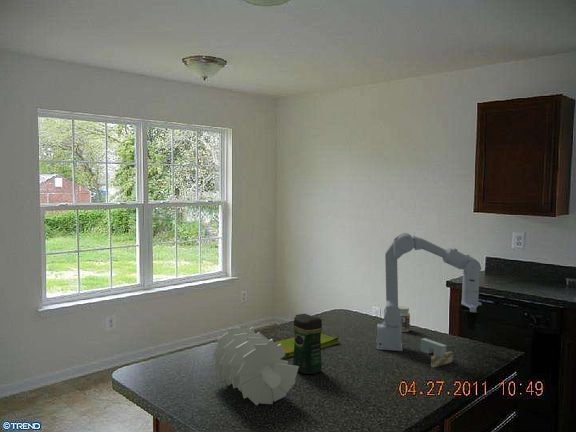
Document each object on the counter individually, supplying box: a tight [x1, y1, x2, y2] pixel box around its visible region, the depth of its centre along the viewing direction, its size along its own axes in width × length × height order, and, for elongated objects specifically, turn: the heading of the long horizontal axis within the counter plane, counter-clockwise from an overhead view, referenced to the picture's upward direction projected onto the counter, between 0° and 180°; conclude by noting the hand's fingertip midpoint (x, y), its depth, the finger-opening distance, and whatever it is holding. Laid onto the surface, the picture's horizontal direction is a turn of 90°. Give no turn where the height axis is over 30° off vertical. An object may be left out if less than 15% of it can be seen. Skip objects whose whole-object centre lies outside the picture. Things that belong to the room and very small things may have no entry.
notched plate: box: [419, 337, 447, 358], centre depth 178 cm, size 10×2×4 cm, turn 34°
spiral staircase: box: [212, 324, 299, 406], centre depth 142 cm, size 18×18×25 cm
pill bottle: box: [398, 306, 411, 333], centre depth 207 cm, size 6×6×10 cm
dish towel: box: [273, 333, 340, 360], centre depth 183 cm, size 15×36×3 cm, turn 129°
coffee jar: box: [292, 313, 323, 375], centre depth 160 cm, size 10×8×19 cm
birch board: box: [430, 351, 454, 368], centre depth 168 cm, size 10×1×4 cm, turn 124°
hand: (469, 326), depth 179 cm, fingers open, 7 cm apart
